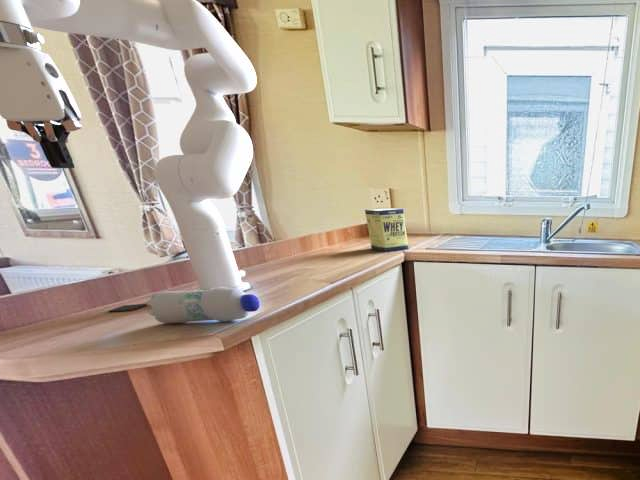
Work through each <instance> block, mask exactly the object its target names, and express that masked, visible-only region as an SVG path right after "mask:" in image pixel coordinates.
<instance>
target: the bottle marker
mask: <svg viewBox="0 0 640 480" xmlns="http://www.w3.org/2000/svg"><path fill="white" fill-rule="evenodd" d="M147 306H148V304H147V303H141V304H124V305H121V306H118V307H116V308H113V309H110V310H108V313H118V312H119V313H120V312H132V311H136V310H138V309H141V308H144V307H147Z"/></svg>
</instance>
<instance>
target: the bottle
mask: <svg viewBox="0 0 640 480" xmlns="http://www.w3.org/2000/svg"><path fill="white" fill-rule="evenodd" d="M146 304H147V306H150V307H151V310H149V311H148V314H149V315H151V316H153V317H154V319H155V320H156V321H157V322H159V323H163V324H180V323H189V322H203V321H204V322H206V321H217V322H232V321H236V320H241V319H245V318H246V317H247V316H248V315H249V314H250V313H252V312H256V311H258V310H259V308H260V300H259V298H258V297H257V296H256V295H255V294H251V293H248V294H246V292H245V291H242V290H241V289H238V288H227V287H218V288H212V289H210V290H197V291H194V290H183V291H182V290H163V291H157V292H155V293H153V294H151V296H150V299H148V300H147V303H146Z"/></svg>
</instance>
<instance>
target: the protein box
mask: <svg viewBox="0 0 640 480" xmlns="http://www.w3.org/2000/svg"><path fill="white" fill-rule="evenodd" d="M364 213H365V217H366V218H365V219H366V224H367V230H368V236H369V242H370V248H371V249H373V250H376V251H377V250H378V251H381V252H394V251H401V250H408V249H409V243H408V235H407V229H406V219H405V213H404V208H373V209H364Z"/></svg>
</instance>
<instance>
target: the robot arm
mask: <svg viewBox="0 0 640 480" xmlns="http://www.w3.org/2000/svg"><path fill="white" fill-rule="evenodd" d="M33 28H39V29H43V30H48V31H52V32H53V31H54V32H59V33H65V34H75V35H83V36H91V37H98V38H103V39H113V40H114V39H115V40H124V41H129V42H133V43H139V44H144V45H148V46H153V47H156V48H161V49H166V50H169V51H187V50H194V49H196V50H197V49H205V51H207V52H203V53H196V54H192V55H191V56H189V57H188V58H187V59H186V60H185V62H184V66H183V72H184V76H185V79H186V82H187V84H188V86H189V88H190V91H191V92H192V95H193V97H194V100H195V108H194V111H193V113H192V115H191V116H190V118H189V120H188V121H187V124H186V125H185V127H184V128H183V130H182V132H181V134H180V138H179V148H180V150H181V153H182V154H174V155H173V154H172V155H167V156H164V157H162V158H161V159H159V160H158V161H157V163H156V164H155V166H154V169H153V171H154V178H155V179H154V180H155V181H156V184H157V186H158V188H159V190H160V191H161V193H162V195H163V196H164V198H165V200H166V202H167V204H168V206H169V208H170V210H171V212H172V214H173V217H174V220H175V222H176V225H177V228H178V230H179V233H180V236H181V237H180V238H181V239H182V242H183V245H184V248H185V251H186V253H187V256H188V259H189V261H190V265H191V268H192V270H193V273H194V275H195V278H196V281H197V284H198V287H197V288H195V289H193V291H197V290H210V289H212V288H218V287H227V288H238V289H241V290H242V291H243V292H245V291H247V290H250V289H251V285H250V283H249V282H247V281H246V282H245V281H242V278H245V277H246V271H244V270H242V269H240V270H239V267H238V265H237V261H236V258H235V255H234V252H233V249H232V245H231V242H230V239H229V236H228V233H227V232H228V231H227V229H226V225H225V222H224V220H223V217H222V215H221V212H220V211H219V210H218V209H217V208H216V206H215V205H214V204H213V203H212V201H210V200H225V199H229V198H231V197H233V196H235V195H236V194H237V193H238V191H239V190H240V188H241V185H242V184H243V181H244V179H245V177H246V175H247V173H248V170H249V168H250V166H251V164H252V162H253V157H254V146H253V142H252V139H251V137H250V135H249V133H248V132H247V131H246V130H245V128H244V127H243V126H241V124H238V123H237V121H236V120H237V119H236V117H235V115H234V113H233V112H232V110H231V109H230V108H229V105H228V104H227V102H226V101H225V99H224V96H229V95H239V94H247V93H250V92H253V90H254V89H255V88H256V87H257V83H258V78H257V73H256V71H255V68H254V66H253V64H252V62H251V60H250V59H249V58H248V56H247V55H246V53H245V52H244V51H243V50H242V48H241V47H240V46H239V45H238V44H237V42H236V41H235V40H234V39H233V37H232V36H231V35H230V33H229V32H228V31H227V30H226V29H225V28H224V26H223V25H222V24H221V22H219V20H218V19H217V18H216V17H215V16H214V15H213V13H211V11H209V9H207V8H206V7H205V6H204V5H203V4H202V3H200V2H199V1H198V0H0V117H1V118H3V119H4V120H5V121H6V125H7V127H8V129H9V130H11V131H16V132H20V133H25V134H26V135H27V136H28V137H31V138H32V140H33V141H34V142H35V143H39V146H40V148H41V150H42V152H43V154H44V156H45V159H46V160H47V162H48V164H49V166H50V168H52V169H74V168H75V164H74V162H73V161H74V160H73V158H72V155H71V153H70V151H69V149H68V147H67V144H68V143H69V139H68V137H69V136H70V134H71V132H75V131H79V130H80V129H82V125H81V123H80V122H81V121H82V120H83V119H82V114H81V111H80V109H79V107H78V104H77V102H76V100H75V97H74V96H73V94H72V91H71V90H70V88H69V86H68V84H67V82H66V80H65V78H64V77H63V74H62V73H61V72H60V70H59V68H58V67H57V65H56V64H55V62H54V60H53V58H52V57H51V56H50V54H48V53H45V52H43V50H42V46H41V45H40V44H45V38H44V36H43V35H42V34H41V33H39V32H36V31H34V29H33Z"/></svg>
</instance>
